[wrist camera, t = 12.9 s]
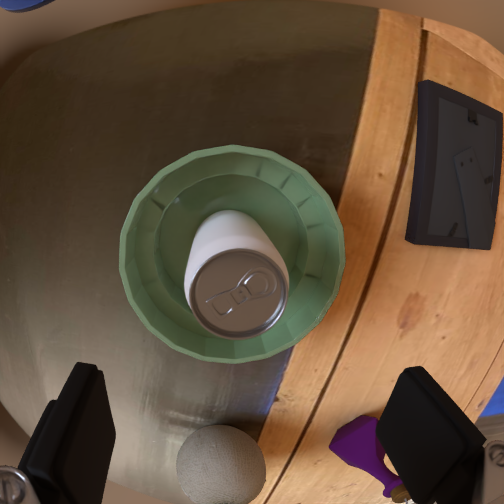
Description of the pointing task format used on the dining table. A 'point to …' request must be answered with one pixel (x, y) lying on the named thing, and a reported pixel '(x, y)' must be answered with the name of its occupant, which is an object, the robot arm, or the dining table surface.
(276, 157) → the green faceted bowl
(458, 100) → the picture frame
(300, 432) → the dining table surface
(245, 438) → the fruit
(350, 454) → the purple potion bottle
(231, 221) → the can
